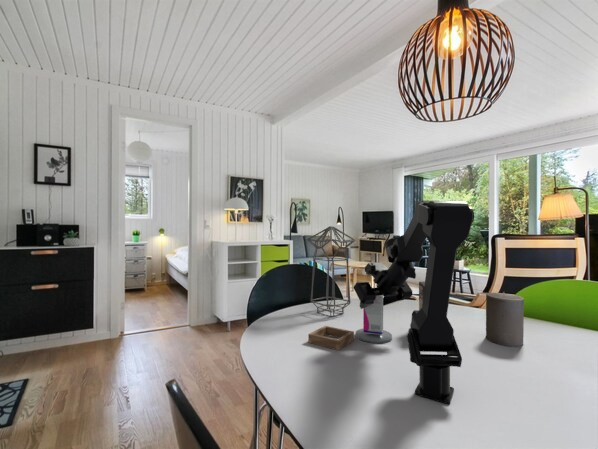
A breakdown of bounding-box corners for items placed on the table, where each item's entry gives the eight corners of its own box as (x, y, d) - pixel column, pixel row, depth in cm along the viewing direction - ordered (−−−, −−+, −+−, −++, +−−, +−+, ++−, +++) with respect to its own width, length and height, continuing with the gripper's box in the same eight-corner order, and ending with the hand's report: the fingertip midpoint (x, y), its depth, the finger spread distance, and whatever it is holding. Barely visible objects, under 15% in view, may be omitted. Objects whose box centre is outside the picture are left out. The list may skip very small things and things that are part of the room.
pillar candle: (478, 337, 96) (478, 289, 96) (500, 333, 99) (500, 287, 100) (509, 349, 87) (509, 296, 87) (532, 344, 90) (532, 293, 90)
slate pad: (385, 346, 88) (385, 342, 88) (349, 338, 94) (349, 335, 94) (396, 335, 97) (396, 332, 97) (363, 329, 103) (363, 326, 103)
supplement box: (383, 328, 97) (383, 292, 97) (382, 334, 92) (382, 296, 92) (364, 326, 99) (365, 291, 99) (362, 332, 93) (363, 294, 94)
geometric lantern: (303, 312, 123) (304, 226, 124) (329, 306, 134) (330, 226, 135) (332, 321, 112) (333, 225, 113) (358, 313, 122) (359, 226, 123)
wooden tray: (339, 350, 84) (339, 341, 84) (308, 342, 90) (308, 334, 90) (353, 339, 93) (353, 331, 93) (324, 333, 98) (324, 325, 98)
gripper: (405, 253, 97) (381, 283, 106) (357, 254, 88) (336, 287, 98) (425, 282, 89) (398, 311, 99) (375, 286, 81) (350, 318, 90)
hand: (370, 306), depth 97 cm, fingers closed on supplement box, 8 cm apart
